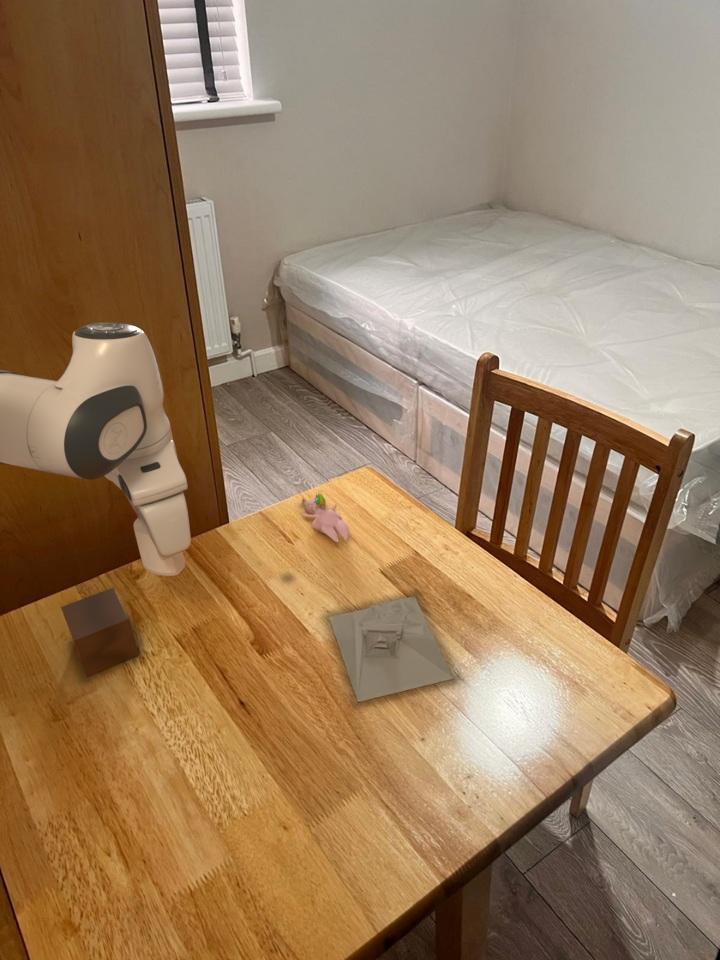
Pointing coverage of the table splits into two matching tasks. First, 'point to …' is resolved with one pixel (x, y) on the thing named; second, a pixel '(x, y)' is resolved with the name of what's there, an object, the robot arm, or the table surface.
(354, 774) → the table surface
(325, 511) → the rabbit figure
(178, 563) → the eye dropper bottle
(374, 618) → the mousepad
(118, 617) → the walnut block
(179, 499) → the robot arm
